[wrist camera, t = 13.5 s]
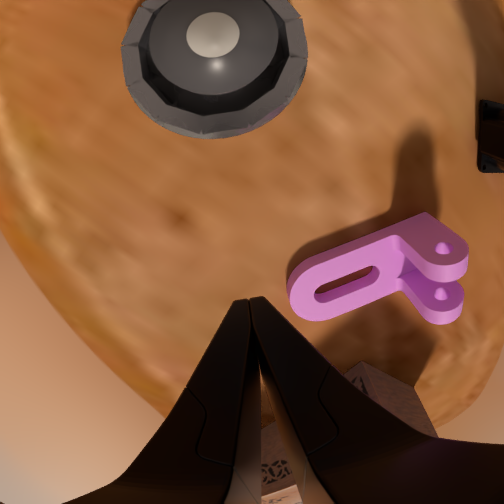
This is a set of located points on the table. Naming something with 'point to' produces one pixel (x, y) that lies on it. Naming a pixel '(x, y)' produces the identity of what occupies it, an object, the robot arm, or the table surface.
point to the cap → (213, 43)
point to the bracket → (387, 272)
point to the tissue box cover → (372, 384)
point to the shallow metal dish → (215, 107)
